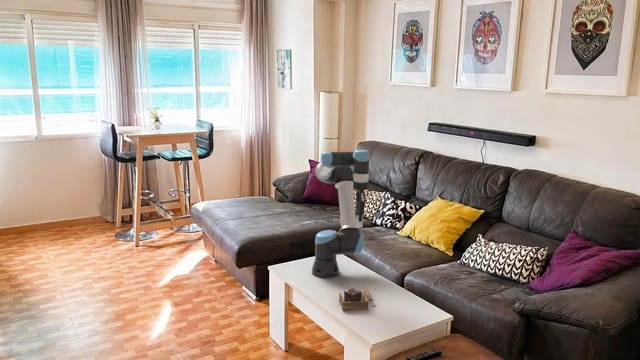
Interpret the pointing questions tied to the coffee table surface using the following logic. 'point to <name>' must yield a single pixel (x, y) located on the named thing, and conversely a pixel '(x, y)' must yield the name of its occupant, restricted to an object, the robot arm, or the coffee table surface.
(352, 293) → the box
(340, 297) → the box
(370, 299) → the scraper
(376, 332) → the coffee table surface
